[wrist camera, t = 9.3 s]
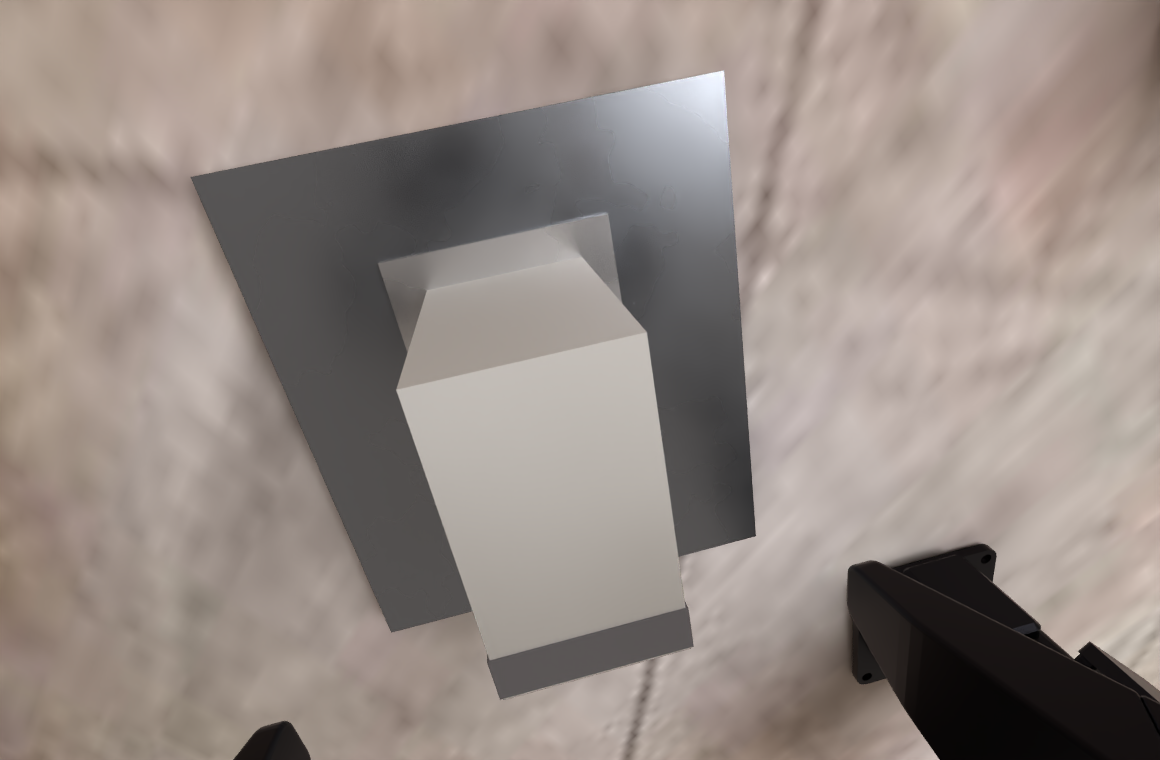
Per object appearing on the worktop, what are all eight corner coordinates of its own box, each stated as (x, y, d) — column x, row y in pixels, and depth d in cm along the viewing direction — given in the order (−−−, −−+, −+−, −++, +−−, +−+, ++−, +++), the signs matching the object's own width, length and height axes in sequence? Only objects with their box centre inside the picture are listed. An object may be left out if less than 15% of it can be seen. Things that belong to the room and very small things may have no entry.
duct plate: (742, 517, 23) (758, 539, 22) (395, 607, 22) (390, 636, 21) (707, 74, 17) (726, 69, 15) (210, 173, 16) (187, 177, 14)
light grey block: (583, 256, 17) (650, 332, 10) (623, 483, 20) (694, 649, 14) (425, 290, 16) (392, 391, 10) (492, 516, 20) (501, 702, 13)
